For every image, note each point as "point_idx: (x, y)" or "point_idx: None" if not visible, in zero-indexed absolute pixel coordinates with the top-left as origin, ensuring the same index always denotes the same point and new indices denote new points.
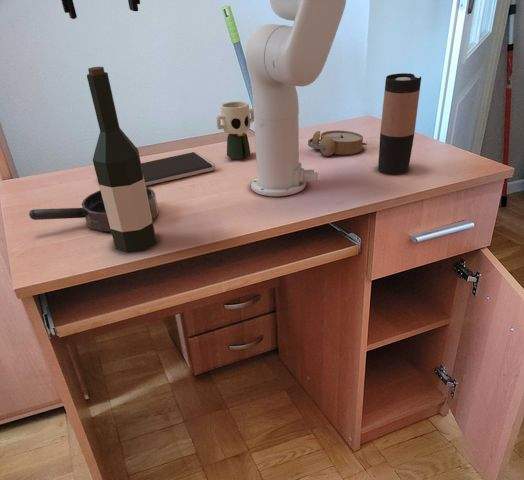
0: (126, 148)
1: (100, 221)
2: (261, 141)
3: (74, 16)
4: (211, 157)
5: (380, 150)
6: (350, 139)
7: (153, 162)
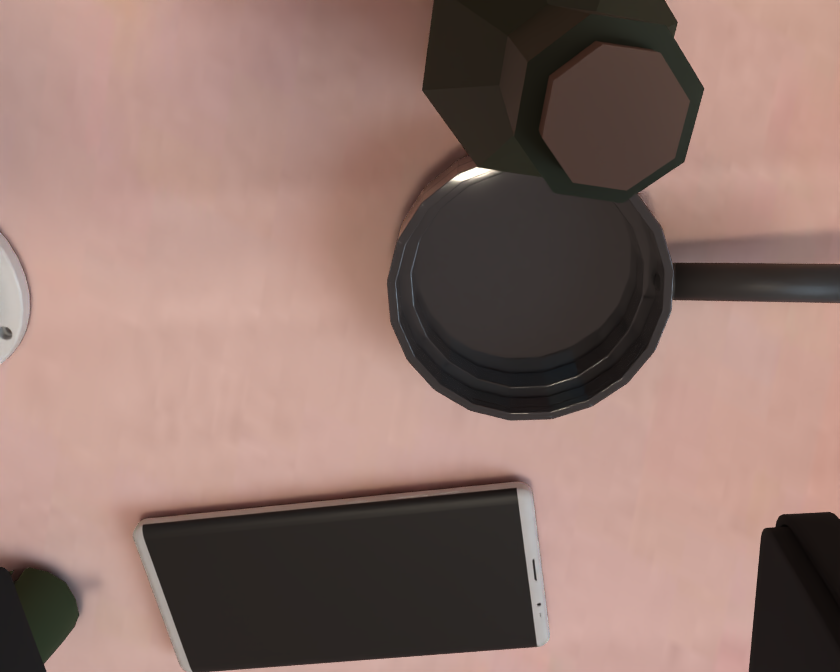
0: None
1: None
2: None
3: (802, 521)
4: (138, 637)
5: None
6: None
7: (343, 642)
